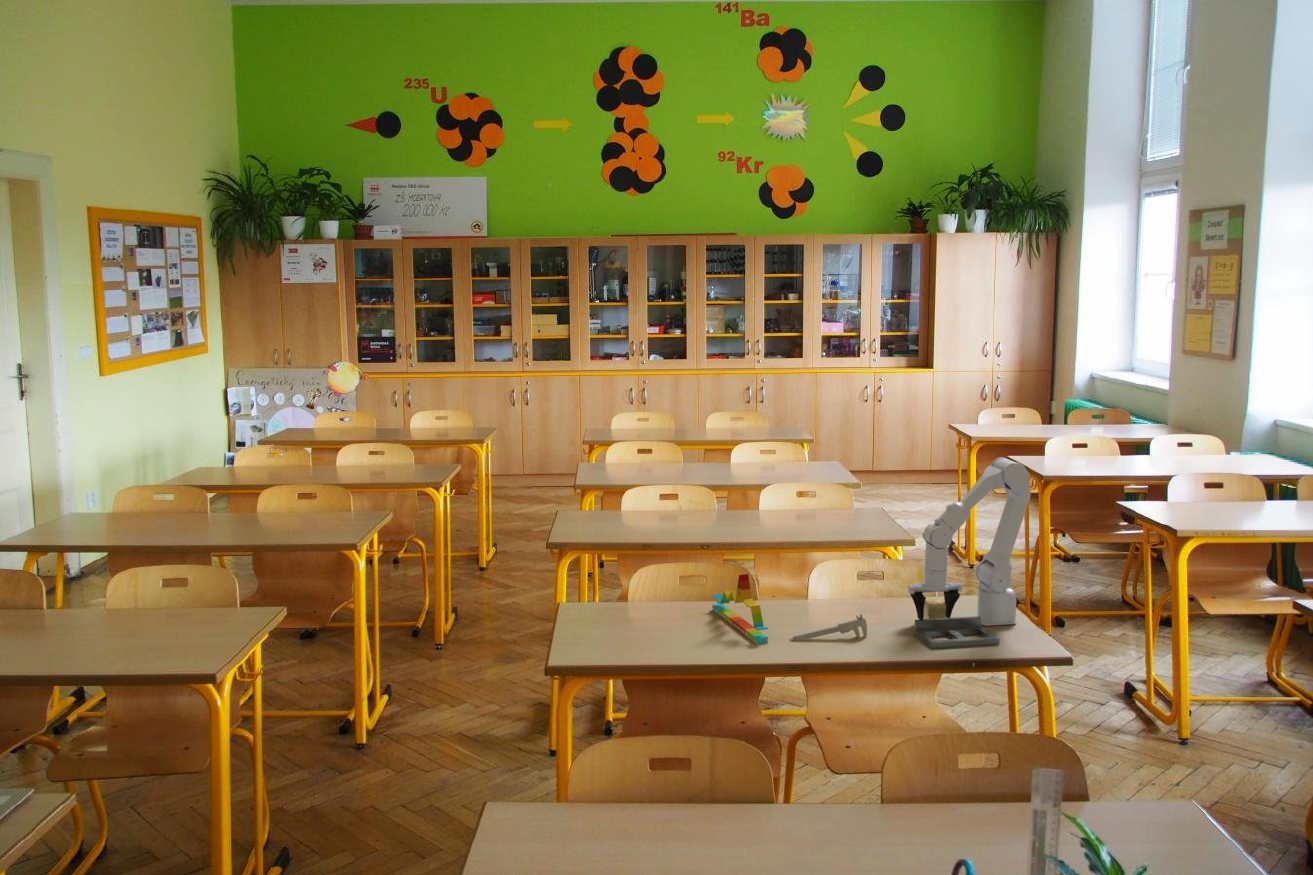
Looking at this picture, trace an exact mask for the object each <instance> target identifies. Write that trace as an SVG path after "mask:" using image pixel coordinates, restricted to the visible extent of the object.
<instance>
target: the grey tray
mask: <svg viewBox="0 0 1313 875" xmlns="http://www.w3.org/2000/svg"><path fill="white" fill-rule="evenodd" d="M913 628H914V630H913V635H914V636H915V637H916V638H918V639H919V640H920V639H921V642H923V643H924V644H925V643H926V645H927V646H928V647H929V648H931V649H934V650H935V649H948V648H965V647H979V646H980V647H982V646H993V645H994V646H996V645H1000V638H999V637H997V636H996V635H994V634H993V633H992V632H990V631H988V630H987V629H985V628H984V627H982V624H981V617H980V616H972V617H971V616H959V617H950V618H937V619H919V618H918V619H914V627H913ZM973 635H977V636H979V637H965V636H973ZM942 637H948V638H949V639H948V638H947V639H937V640H936V639H934V638H942Z"/></svg>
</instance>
